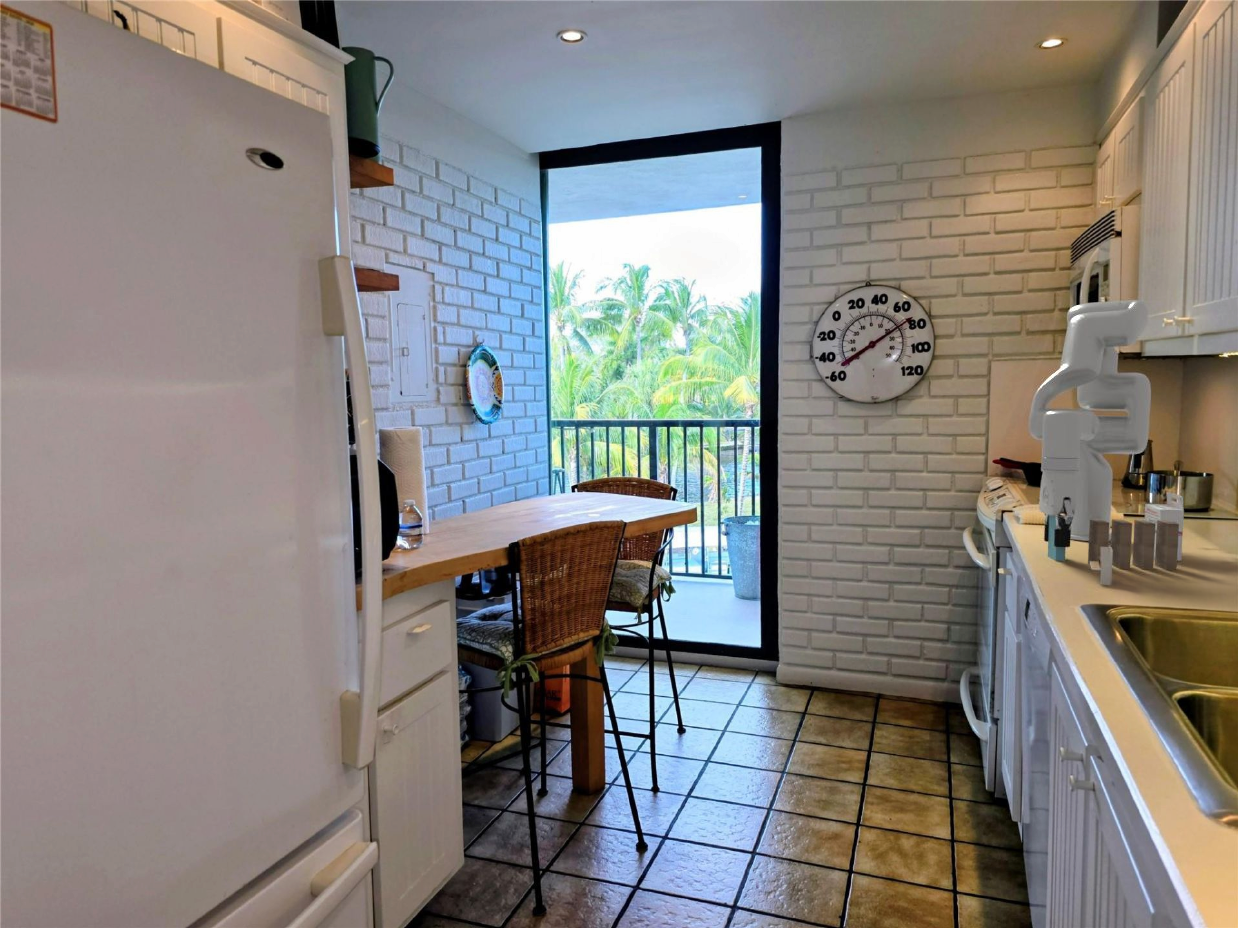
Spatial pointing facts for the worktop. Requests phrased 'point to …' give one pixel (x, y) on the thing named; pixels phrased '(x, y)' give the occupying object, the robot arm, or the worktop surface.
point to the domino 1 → (1053, 551)
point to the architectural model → (1104, 565)
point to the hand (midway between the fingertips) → (1056, 543)
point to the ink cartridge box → (1167, 516)
